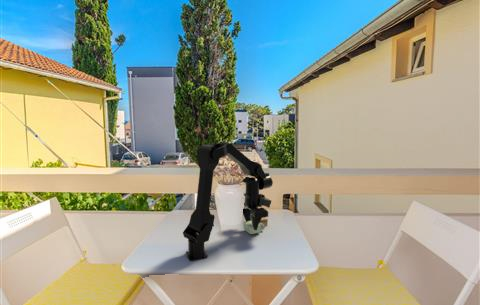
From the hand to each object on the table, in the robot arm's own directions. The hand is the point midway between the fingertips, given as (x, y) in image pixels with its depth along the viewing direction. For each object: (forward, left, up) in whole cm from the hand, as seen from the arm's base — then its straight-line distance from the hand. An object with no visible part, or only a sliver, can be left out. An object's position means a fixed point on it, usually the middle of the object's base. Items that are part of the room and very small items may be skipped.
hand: (251, 227), depth 123 cm
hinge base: (+9, -7, -2) cm, 11 cm away
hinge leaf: (0, -2, -2) cm, 2 cm away
